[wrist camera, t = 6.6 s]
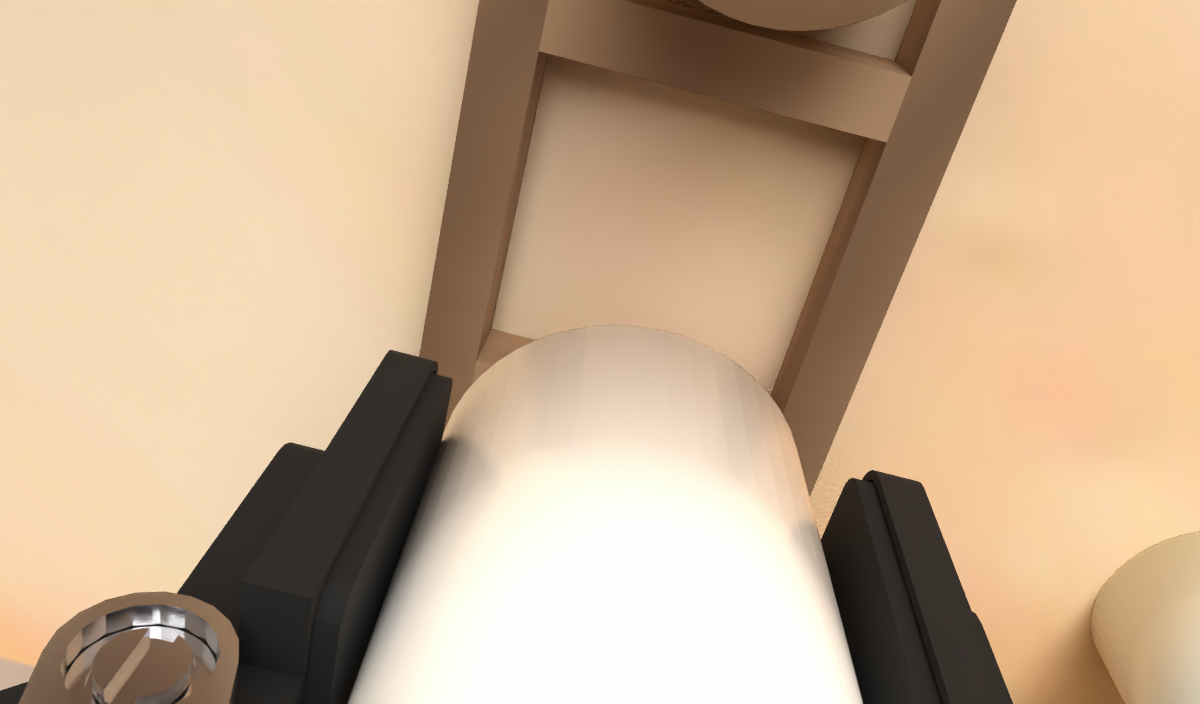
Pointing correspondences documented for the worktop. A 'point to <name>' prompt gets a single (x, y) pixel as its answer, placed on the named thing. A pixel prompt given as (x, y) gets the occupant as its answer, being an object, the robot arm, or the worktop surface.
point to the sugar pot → (1153, 624)
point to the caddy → (741, 75)
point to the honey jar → (801, 12)
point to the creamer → (612, 541)
